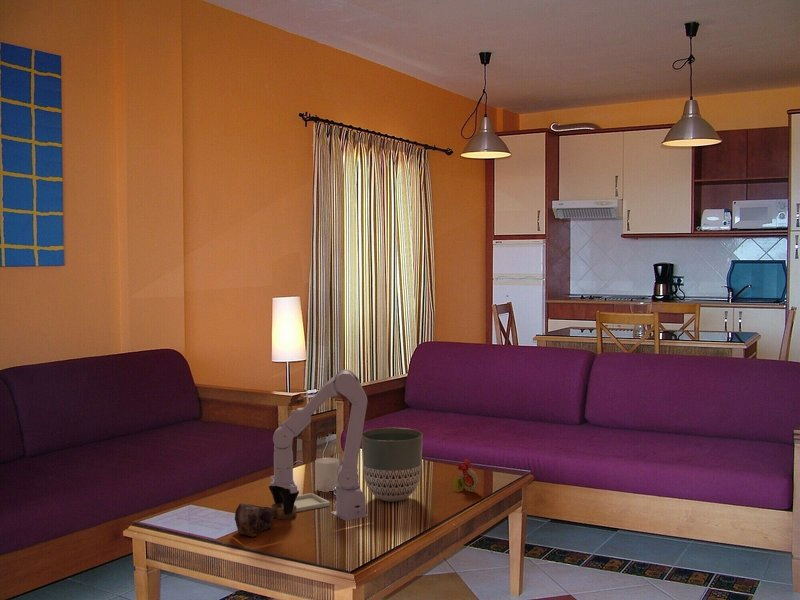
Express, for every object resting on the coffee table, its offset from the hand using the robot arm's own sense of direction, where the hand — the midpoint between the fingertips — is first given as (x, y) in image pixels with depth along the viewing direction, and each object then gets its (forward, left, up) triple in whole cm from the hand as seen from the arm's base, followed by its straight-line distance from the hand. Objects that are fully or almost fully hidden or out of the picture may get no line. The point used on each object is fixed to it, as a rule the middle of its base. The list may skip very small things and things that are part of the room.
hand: (284, 511), depth 253 cm
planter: (-3, -37, -2) cm, 37 cm away
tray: (+7, -10, -2) cm, 13 cm away
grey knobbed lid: (0, 0, -2) cm, 2 cm away
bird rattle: (-9, -63, -2) cm, 64 cm away
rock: (-8, +14, -2) cm, 16 cm away
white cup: (+19, -25, -2) cm, 31 cm away
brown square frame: (0, 0, -1) cm, 1 cm away
